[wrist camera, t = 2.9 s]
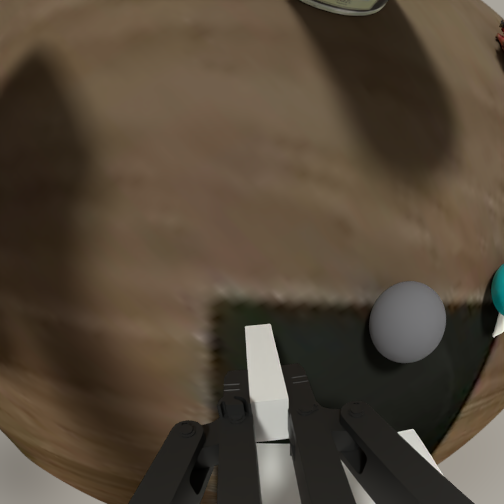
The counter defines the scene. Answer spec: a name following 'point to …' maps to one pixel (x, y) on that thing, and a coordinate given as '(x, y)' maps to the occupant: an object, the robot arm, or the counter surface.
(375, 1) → the coffee can
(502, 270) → the teal ball
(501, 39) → the dragon fruit
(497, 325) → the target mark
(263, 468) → the white v-notch block
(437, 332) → the gray ball
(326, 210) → the counter surface
